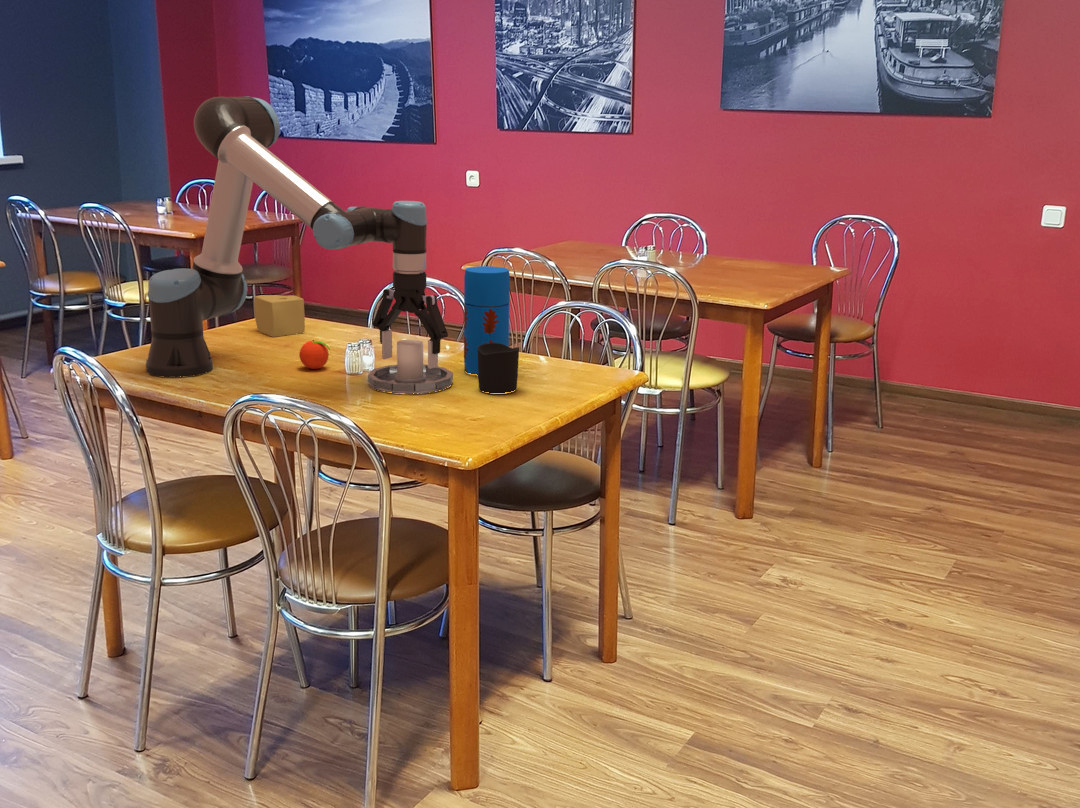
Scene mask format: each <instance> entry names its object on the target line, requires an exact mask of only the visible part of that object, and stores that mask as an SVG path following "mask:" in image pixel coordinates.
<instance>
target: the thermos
mask: <svg viewBox="0 0 1080 808" xmlns="http://www.w3.org/2000/svg"><path fill="white" fill-rule="evenodd" d="M463 279H464V281H463V287H464V288H463V291H464V295H463V296H464V297H463V303H464V304H463V361H464V362H463V363H464V372H465V371H466V372H467V373H471V374H477V375H478V350H477V347H478V346H479V345H482V344H488V343H500V344H504V345H506V346H508V347H510V345H509V344H510V294H511V293H510V292H511V291H510V290H511V288H510V287H511V286H510V284H511V276H510V270H509V268H506V267H501V266H493V265H492V266H491V265H488V266H487V265H483V266H482V265H481V266H479V265H478V266H470V267H467V268H464V276H463Z"/></svg>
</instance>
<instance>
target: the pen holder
mask: <svg viewBox="0 0 1080 808" xmlns="http://www.w3.org/2000/svg"><path fill="white" fill-rule="evenodd" d="M477 350H478V377H477V378H478V379H477V380H478V389H480V390H481V391H484V392H489V393H505V392H511V391H514V390H516V391H517V389H518V387H517V386H518V378H519V377H518V374H519V355H520V347H518V346H517V347H514V348H512V347H510V346H509V347H508V346H506V345H504V344H500V343H488V344H482V345H479V346H478V347H477ZM480 390H479V391H480ZM481 391H480V392H481Z"/></svg>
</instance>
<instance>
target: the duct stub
mask: <svg viewBox="0 0 1080 808" xmlns="http://www.w3.org/2000/svg"><path fill="white" fill-rule="evenodd" d="M423 364H424V341H423V340H418V339H402V340H398V341H396V365H397V374H395V382H396V383H422V382H426V375H425V374H424V373H423Z"/></svg>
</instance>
